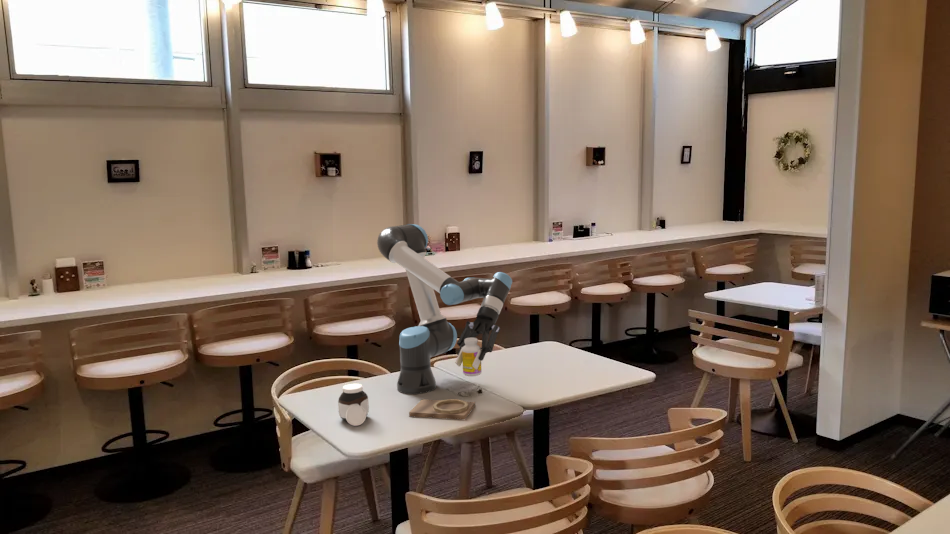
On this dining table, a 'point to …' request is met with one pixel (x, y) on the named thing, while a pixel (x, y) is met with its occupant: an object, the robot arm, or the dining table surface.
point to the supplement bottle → (470, 357)
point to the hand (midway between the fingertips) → (466, 366)
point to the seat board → (442, 409)
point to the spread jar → (353, 404)
